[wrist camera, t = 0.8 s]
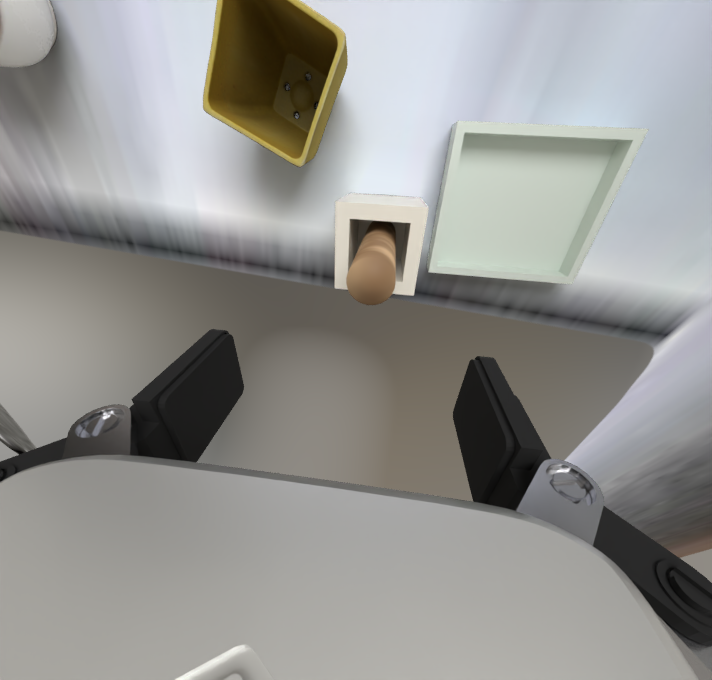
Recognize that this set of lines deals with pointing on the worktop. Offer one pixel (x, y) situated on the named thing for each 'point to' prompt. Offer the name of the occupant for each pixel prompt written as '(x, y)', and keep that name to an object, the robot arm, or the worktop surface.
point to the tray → (526, 198)
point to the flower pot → (275, 73)
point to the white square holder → (366, 208)
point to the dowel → (374, 265)
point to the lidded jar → (26, 31)
